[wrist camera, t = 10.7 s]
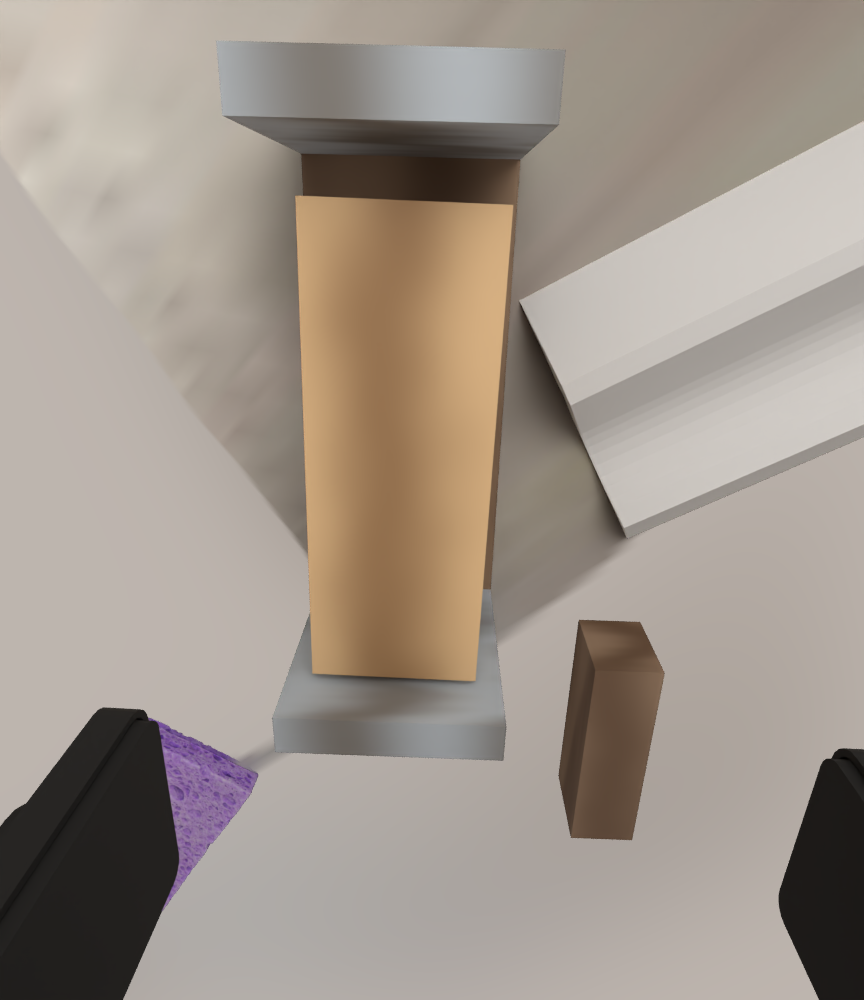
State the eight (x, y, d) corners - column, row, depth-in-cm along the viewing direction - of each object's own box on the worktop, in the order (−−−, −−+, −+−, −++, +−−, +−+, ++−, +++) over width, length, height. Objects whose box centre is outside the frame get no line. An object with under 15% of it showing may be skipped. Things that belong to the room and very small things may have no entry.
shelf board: (504, 207, 21) (513, 204, 18) (472, 634, 27) (475, 681, 24) (315, 199, 21) (295, 195, 18) (326, 627, 27) (312, 673, 24)
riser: (640, 621, 33) (664, 673, 29) (613, 777, 36) (631, 839, 33) (578, 619, 33) (595, 670, 29) (558, 775, 36) (570, 837, 33)
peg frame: (521, 115, 24) (565, 49, 15) (487, 607, 32) (503, 760, 23) (303, 109, 24) (216, 40, 15) (324, 602, 33) (275, 751, 23)
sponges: (261, 768, 37) (252, 794, 36) (168, 894, 42) (156, 923, 40) (147, 711, 36) (132, 735, 34) (63, 847, 40) (45, 875, 39)
